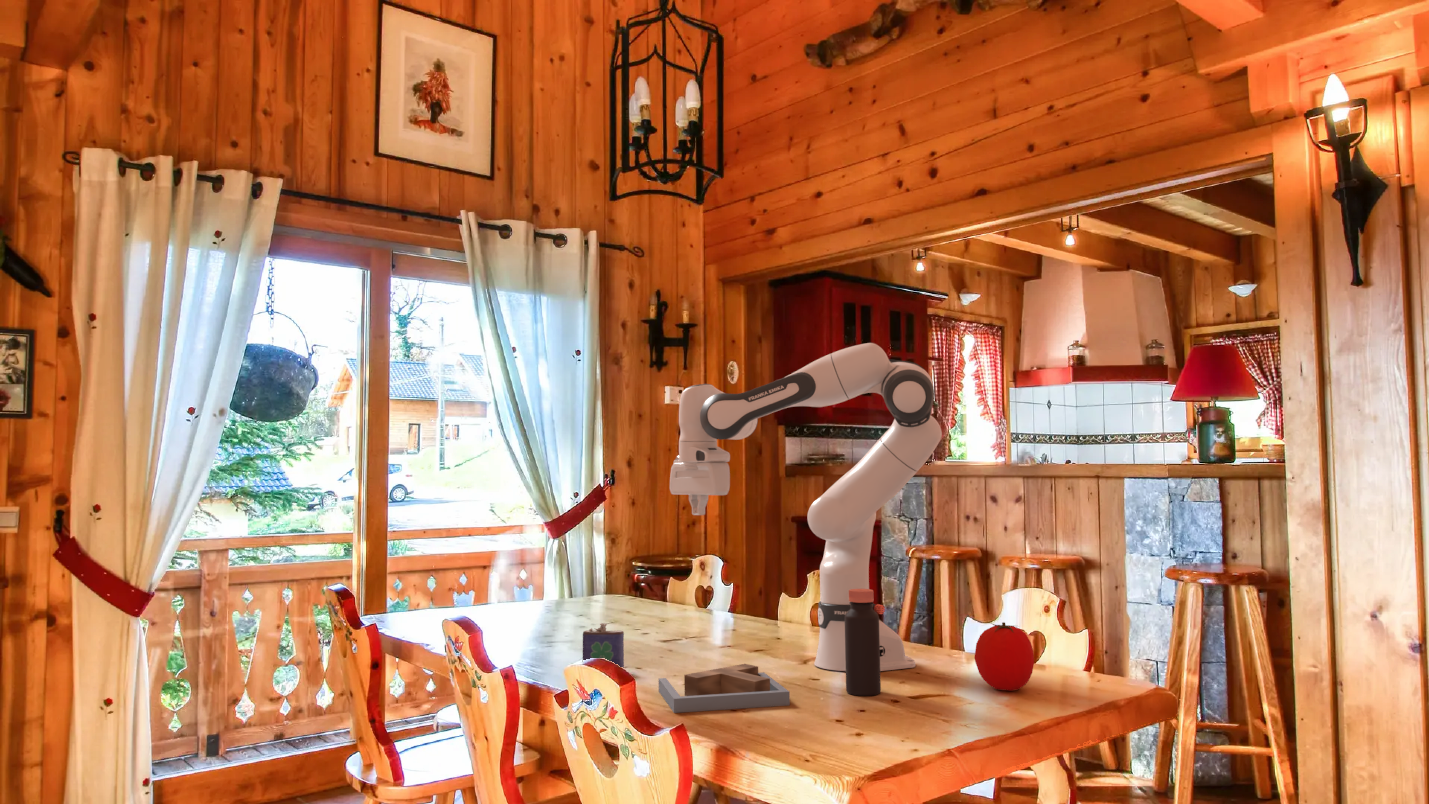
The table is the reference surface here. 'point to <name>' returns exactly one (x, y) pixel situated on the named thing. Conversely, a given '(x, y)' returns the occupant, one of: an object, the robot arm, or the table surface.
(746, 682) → the t block
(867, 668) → the bottle
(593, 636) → the flask
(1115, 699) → the table surface
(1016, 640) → the tomato
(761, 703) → the corral
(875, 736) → the table surface
